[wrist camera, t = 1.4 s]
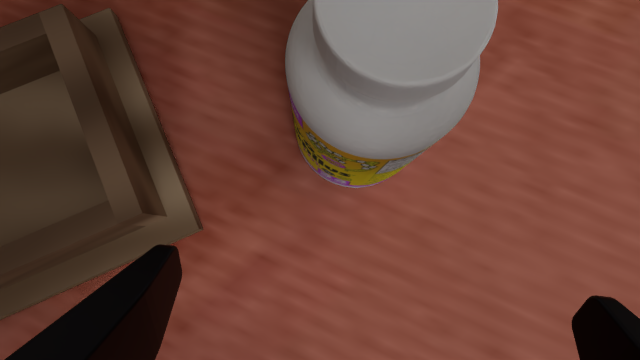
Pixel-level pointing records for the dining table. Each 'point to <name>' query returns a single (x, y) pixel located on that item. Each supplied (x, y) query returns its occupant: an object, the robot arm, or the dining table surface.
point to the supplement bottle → (381, 80)
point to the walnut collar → (79, 158)
